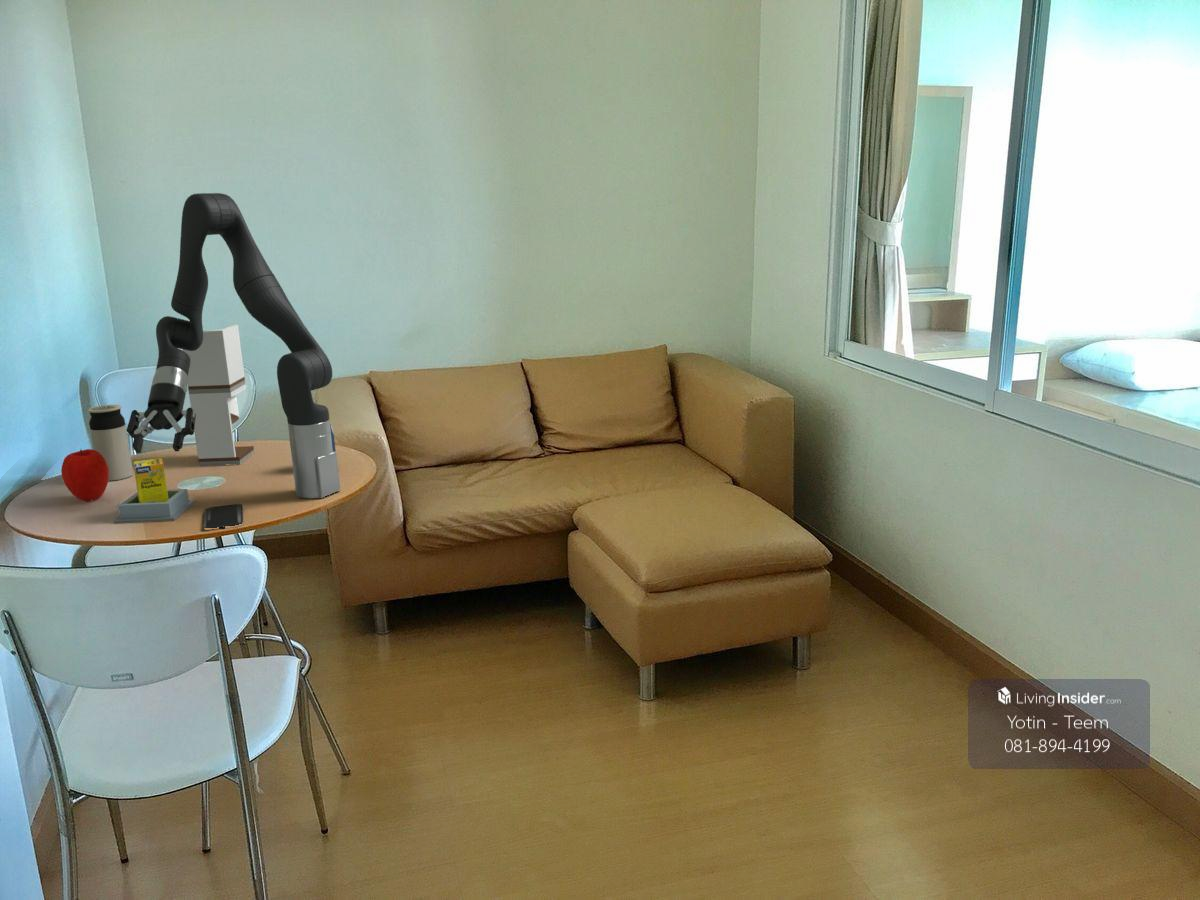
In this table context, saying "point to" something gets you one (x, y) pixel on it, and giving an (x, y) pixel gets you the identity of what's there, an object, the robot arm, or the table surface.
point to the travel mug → (111, 440)
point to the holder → (154, 508)
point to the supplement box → (150, 481)
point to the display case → (217, 396)
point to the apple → (85, 474)
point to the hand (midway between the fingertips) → (156, 450)
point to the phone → (223, 516)
